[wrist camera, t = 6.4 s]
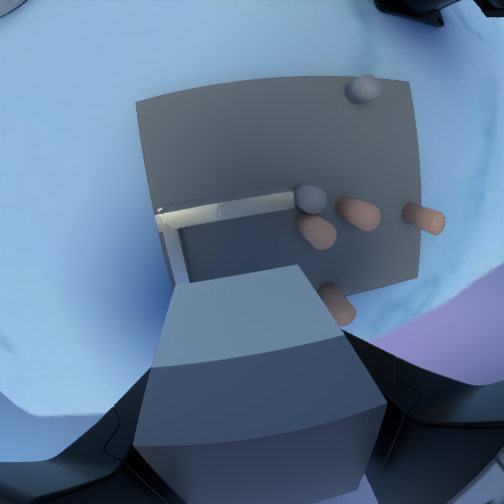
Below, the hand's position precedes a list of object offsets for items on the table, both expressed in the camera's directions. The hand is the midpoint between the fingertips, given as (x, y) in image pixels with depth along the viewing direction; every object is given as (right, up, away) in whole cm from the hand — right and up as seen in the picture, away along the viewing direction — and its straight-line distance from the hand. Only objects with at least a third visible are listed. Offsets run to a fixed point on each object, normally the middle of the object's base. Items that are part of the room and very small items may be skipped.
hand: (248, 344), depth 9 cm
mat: (+3, +6, +8) cm, 10 cm away
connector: (0, 0, +1) cm, 1 cm away
